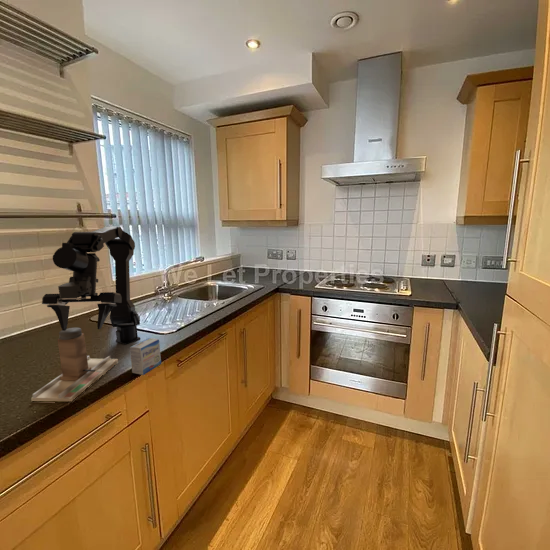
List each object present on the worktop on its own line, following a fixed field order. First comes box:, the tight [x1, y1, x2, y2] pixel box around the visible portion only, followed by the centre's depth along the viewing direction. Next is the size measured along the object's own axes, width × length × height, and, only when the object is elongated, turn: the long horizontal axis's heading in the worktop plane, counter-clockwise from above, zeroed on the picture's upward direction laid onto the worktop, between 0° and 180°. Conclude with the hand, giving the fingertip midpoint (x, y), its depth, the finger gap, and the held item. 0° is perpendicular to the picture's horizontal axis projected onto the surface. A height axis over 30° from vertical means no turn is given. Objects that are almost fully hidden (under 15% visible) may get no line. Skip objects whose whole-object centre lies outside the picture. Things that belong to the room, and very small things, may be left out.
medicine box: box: [129, 337, 162, 376], centre depth 94 cm, size 8×4×9 cm, turn 158°
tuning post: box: [57, 327, 95, 381], centre depth 87 cm, size 6×8×14 cm
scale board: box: [31, 355, 119, 402], centre depth 88 cm, size 22×10×2 cm, turn 178°
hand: (81, 329), depth 84 cm, fingers open, 9 cm apart
